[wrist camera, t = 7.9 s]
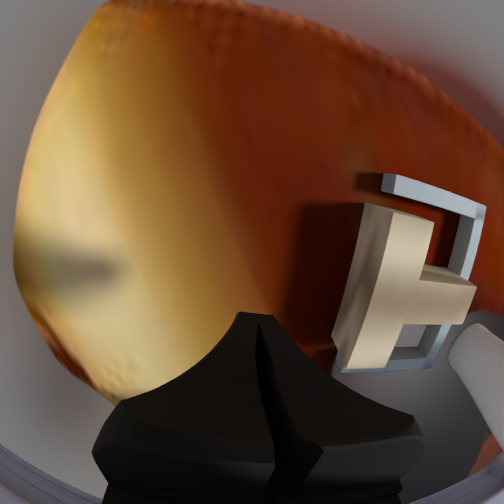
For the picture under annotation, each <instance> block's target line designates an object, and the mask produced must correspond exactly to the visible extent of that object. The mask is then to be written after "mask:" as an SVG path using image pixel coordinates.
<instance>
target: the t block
mask: <svg viewBox="0 0 504 504" xmlns="http://www.w3.org/2000/svg"><path fill="white" fill-rule="evenodd" d="M433 226H434V222H431V221H429V220H426V219H423V218H420V217H417V216H415V215H412V214H409V213H406V212H403V211H399V210H395V209H391V208H387V207H382V206H378V205H373V204H369V203H365V205H364V210H363V215H362V220H361V225H360V230H359V234H358V239H357V243H356V248H355V252H354V256H353V260H352V264H351V268H350V272H349V276H348V280H347V284H346V287H345V291H344V295H343V298H342V302H341V305H340V309H339V312H338V315H337V319H336V322H335V325H334V328H333V332H332V335H331V336H332V338H333V341H334V343H335V345H336V347H337V349H338V352H339V354H340V356H341V358H342V361H343V363H344V365H345V368H346V369H360V368H385V366H386V364H387V361H388V359H389V357H390V355H391V353H392V350H393V348H394V346H395V344H396V341H397V339H398V336H399V334H400V331H401V329H402V327H403V324H426V325H444V324H463V321H464V319H465V317H466V314H467V312H468V309H469V307H470V304H471V301H472V299H473V296H474V293H475V290H476V288H477V286H475V285H473V284H472V283H470V282H469V281H467V280H466V279H464V278H463V277H461V276H459V275H458V274H456V273H455V272H453V271H451V270H450V269H448V268H444V267H438V266H432V265H425V264H424V262H425V258H426V255H427V251H428V247H429V243H430V239H431V235H432V231H433Z"/></svg>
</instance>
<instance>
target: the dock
mask: <svg viewBox="0 0 504 504" xmlns="http://www.w3.org/2000/svg"><path fill="white" fill-rule="evenodd" d="M381 191H383V192H387V193H391V194H395V195H398V196H402V197H406V198H409V199H413V200H417V201H420V202H423V203H427V204H430V205H434V206H437V207H440V208H443V209H446V210H449V211H453V212H456V213H459V214H461V215H460V220H459V225H458V229H457V234H456V238H455V242H454V246H453V250H452V254H451V257H450V261H449V264H448V269H450V270H451V271H453V272H455V273H456V274H458V275H459V276H461V277H463V278H464V279H466V280H467V281H468V279H469V276H470V272H471V269H472V266H473V262H474V259H475V255H476V252H477V248H478V244H479V240H480V236H481V231H482V227H483V222H484V217H485V212H486V206H484V205H481V204H479V203H476V202H474V201H472V200H469V199H467V198H464V197H461V196H459V195H456V194H454V193H451V192H448V191H445V190H443V189H440V188H437V187H434V186H431V185H428V184H425V183H422V182H419V181H416V180H413V179H410V178H407V177H403V176H400V175H397V174H383V181H382V187H381ZM450 327H451V324H444V325H427V327H426V329H425V331H424V334H423V336H422V338H421V340H420V343H419V345H418V347H394V348H393V350H392V353H391V355H390V357H389V359H388V361H387V364H386V366H385V368H360V369H346V368H345V365H344V363H343V361H342V358H341V356H340V354H339V352H338V353H337V356H336V358H335V359H336V362H337V364H338V366H339V369H340V371H341V373H363V372H387V371H402V370H415V369H425V368H431V366H432V364H433V362H434V360H435V358H436V356H437V354H438V352H439V350H440V348H441V346H442V344H443V342H444V340H445V338H446V336H447V333H448V331H449V329H450Z"/></svg>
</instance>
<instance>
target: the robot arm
mask: <svg viewBox="0 0 504 504" xmlns="http://www.w3.org/2000/svg"><path fill="white" fill-rule="evenodd" d="M426 446H427V440H426V438H425V436H424V434H423V432H422V431H421V429H420V427H419V425H418V423H417V422H416V420H415V418H414V417H413V415H410V414H407V413H404V412H401V411H398V410H395V409H392V408H389V407H387V406H384V405H381V404H379V403H377V402H375V401H373V400H370V399H368V398H366V397H364V396H362V395H360V394H359V393H357V392H355V391H353V390H351V389H350V388H348V387H347V386H345V385H343V384H342V383H340V382H339V381H337V380H336V379H334V378H333V377H332V376H330V375H329V374H328V373H326V372H325V371H324V370H323V369H321V368H320V367H319V366H318V365H316V364H315V363H314V362H313V361H312V360H311V359H310V358H309V357H308V356H307V355H306V354H305V353H304V352H303V351H302V350H301V349H300V348H299V347H298V346H297V345H296V344H295V343H294V341H293V340H292V339H291V338H290V337H289V336H288V334H287V333H286V332H285V330H284V329H283V328H282V327H281V325H280V324H279V323H278V321H277V320H276V319H275V317H274V316H273V315H265V314H256V313H248V312H238V313H237V314H236V317H235V320H234V322H233V323H232V325H231V327H230V328H229V330H228V331H227V332H226V334H225V335H224V336H223V338H222V339H221V340H220V341H219V342H218V344H217V345H216V346H215V347H214V348H213V349H212V350H211V351H210V352H209V353H208V354H207V355H206V356H205V357H204V358H203V359H201V360H200V361H199V362H198V363H197V364H195V365H194V366H193V367H191V368H190V369H189V370H187V371H186V372H184V373H183V374H181V375H180V376H178V377H177V378H175V379H173V380H171V381H169V382H167V383H165V384H164V385H162V386H160V387H158V388H156V389H154V390H151V391H149V392H146V393H143V394H140V395H137V396H135V397H132V398H129V399H125V400H122V401H120V402H119V403H118V405H117V406H116V407H115V409H114V410H113V411H112V413H111V414H110V416H109V417H108V419H107V420H106V422H105V423H104V425H103V427H102V429H101V431H100V433H99V435H98V437H97V440H96V442H95V444H94V446H93V449H92V455H93V457H94V460H95V462H96V464H97V466H98V467H99V469H100V471H101V472H102V474H103V475H104V477H105V479H106V480H107V482H108V483H109V484H108V486H107V489H106V492H105V495H104V498H103V499H101V498H98V497H96V496H93V495H91V494H88V493H86V492H84V491H81V490H79V489H77V488H75V487H73V486H71V485H68V484H66V483H64V482H62V481H60V480H58V479H56V478H55V477H53V476H51V475H49V474H47V473H45V472H44V471H42V470H40V469H38V468H37V467H35V466H33V465H32V464H30V463H28V462H27V461H25V460H24V459H22V458H21V457H19V456H18V455H16V454H15V453H13V452H12V451H10V450H9V449H7V448H6V447H4V446H3V445H2V444H0V504H401V502H400V499H399V496H398V493H399V492H401V491H402V485H401V482H400V480H399V479H400V478H401V477H402V476H403V475H405V473H407V471H409V470H410V468H411V467H413V465H414V464H415V463H416V462H417V461H418V460H419V459H420V458H421V456H422V455H423V453H424V451H425V448H426ZM410 504H504V451H503V452H502V453H500V454H499V455H498V456H497V457H496V458H495V459H494V460H493V461H492V462H491V463H490V465H489V466H488V467H486V468H485V469H483V470H481V471H480V472H478V473H476V474H474V475H472V476H471V477H469V478H467V479H465V480H463V481H461V482H459V483H457V484H455V485H453V486H451V487H449V488H447V489H444V490H442V491H440V492H438V493H435V494H433V495H431V496H428V497H426V498H423V499H421V500H418V501H415V502H413V503H410Z"/></svg>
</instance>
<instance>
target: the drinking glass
mask: <svg viewBox="0 0 504 504" xmlns="http://www.w3.org/2000/svg"><path fill="white" fill-rule="evenodd" d="M448 363H449V365H450V366H451V368H452V369H453V370H454V371H455V372H456V374H457V375H458V376H459V378H460V379H461V381H462V382H463V384H464V385H465V387H466V388H467V390H468V392H469V393H470V395H471V397H472V398H473V400H474V401H475V403H476V405H477V406H478V408H479V410H480V412H481V413H482V415H483V417H484V419H485V421H486V422H487V424H488V426H489V428H490V430H491V431H492V433H493V435H494V437H495V438H496V440H497V442H498V443H499V445H500V446H501V448H502V449H503V451H504V341H503V340H501V339H500V338H498V337H497V336H496V335H494V334H493V333H491V332H490V331H489V330H488V329H487V328H485V327H484V326H483V325H481V324H479V323H474V324H471V325H469V326H467V327H466V328H465V329H463V330H462V331H461V332H460V333H459V334H458V336H457V337H456V338H455V340H454V341H453V343H452V345H451V347H450V349H449V353H448Z"/></svg>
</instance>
